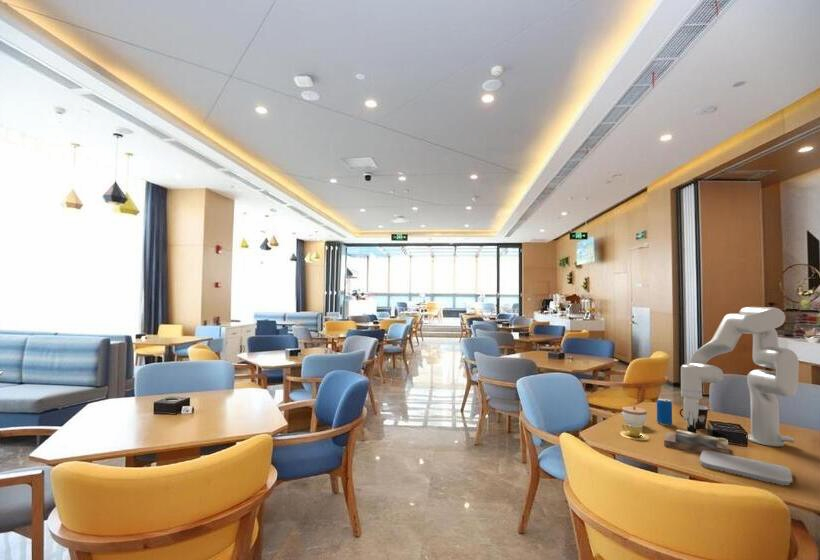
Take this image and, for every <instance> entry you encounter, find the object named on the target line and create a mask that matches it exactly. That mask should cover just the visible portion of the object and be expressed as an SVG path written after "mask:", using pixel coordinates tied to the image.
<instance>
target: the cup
mask: <svg viewBox="0 0 820 560" xmlns="http://www.w3.org/2000/svg"><path fill="white" fill-rule="evenodd" d="M643 425H644V424H643ZM643 425H641V424H639V423H634V422H628V423H624V424H622V426H621V427H622V429H623V430H621V431H620V432H619V435H620V436H621V437H624V438H626V439H630V440H635V441H647V440H649V439H650V437H649V435H648V434H646V433H643ZM627 433H629V435H630V436H629V435H628V434H627ZM626 434H627V435H626ZM640 435H642V436H643V437H642V436H640ZM633 436H634V437H633Z"/></svg>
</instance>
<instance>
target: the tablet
mask: <svg viewBox="0 0 820 560" xmlns="http://www.w3.org/2000/svg"><path fill="white" fill-rule="evenodd" d="M699 462H700V463H701V466H703V467H704V468H707V469H712V470H715V471H719V470H720V472H723V471H725V472H724V473H727V472H730V473H729V474H732V473H734V474H733V475H736V474H738V475H737V476H740V475H742V477H745V476H746V477H745V478H749V477H750V479H753V478H754V480H757V479H758V481H762V482H766V483H770V482H773V483H772V484H774V483H777V484H776V485H779V484H780V485H779V486H784V485H789V486H790V484H791V483H793V475H792V471H791V469H790V468H788V467H786V466H783V465H780V464H776V463H772V462H766V461H762V460H757V459H751V458H746V457H741V456H738V455H737V456H736V455H734V454H733V455H732V454H730V455H729V454H724V453H719V452H714V451H709V450H704V451H702V453H700V456H699Z"/></svg>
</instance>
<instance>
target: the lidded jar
mask: <svg viewBox="0 0 820 560" xmlns="http://www.w3.org/2000/svg"><path fill="white" fill-rule="evenodd" d="M621 413H622V414H621V415H622V418H623V420H624V422H625V424H627V423H628V422H634V423H639V424H641V425H645V424H646V422H647V421H646V420H647V413H648V412H647V410H646V409H645V408H642V407H638V406H637V407H636V405H633V406H622V407H621Z"/></svg>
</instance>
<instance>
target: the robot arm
mask: <svg viewBox="0 0 820 560" xmlns="http://www.w3.org/2000/svg"><path fill="white" fill-rule="evenodd" d="M785 321H786V314H785V313H784V311H783V310H781V309H780V308H778V307H768V306H767V307H765V306H744V307H742V308H741V309H740V310H739V312H738V313H734V312H733V313H728V314H725V316H724V317H723V318H722V320H721V321H720V323H719V325H718V327H717V329H716V330H715V332H714V334H713V336H712V338H711V340H709V341H708V342H707V343H704V345H702V346H701V347H699V348H697V350H695V352H693V354H692V355H691V357H690V359H689V361H688V362H687V364H685V363H684V364H682V365H681V366H680V396H681V397H683V409H684V410H683V417H684V418H683V421H687V426H686V431H688V432H693V433H697V429H696V422H697V419H698V411H699V403H700V402H699V400H701V399H703V383H708V384H709V383H710V384H717V383H720V382H721V381H722V380H723V379H724V372H723V370H722V369H721V368H720V367H718V366H715V365H713V364H712V365H711V364H708V362H709V361H710V360H711V359H712V358H714V357H716V356H719V355H720V356H721V355H722V354H723V355H724V354H727V353H729V352H732V351H733V350H734V349H735V347H736V345H737V343H738V342H739V339H740V338H741V337H742V334H748V335H752V361H753V363H754V364H755V365H757V366H759V367H764V368H768V369H775V371H772V370H767V369H766V370H765V369H761V368H760V369H759V368H758V369H757V368H756V369H753V370H751V371H749V373H748V374H747V377H746V380H747V381H746V383H747V386H748V390H749V398H750V401H749V402H750V433H749V434H747V435H748V439H747V440H748V441H750V442H753V443H755V444H759V445H764V446H769V447H777V448H778V447H784V446H785V442H789V443H793V444H794V443H795V438H794V437H790V436H789V435H787V436H786V435H782V434H781V433H780V405H779V400H778V397H777V396H779V397H783V398H784V397H786V398H787V397H788V398H790V397H793V396H795V394H796V393H797V391H798V388H799V387H798V386H799V373H800V372H799V371H800V370H799V369H800V368H799V367H800V363H799V357H798V356H797V354H796V353H795V351H793V350H792V349H789V348H785V347H780V346H779V336H778V331H777V330H776V329H777V328H780V327H781V326H782V325H783V324H784V323H785ZM687 419H688V420H687Z"/></svg>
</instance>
